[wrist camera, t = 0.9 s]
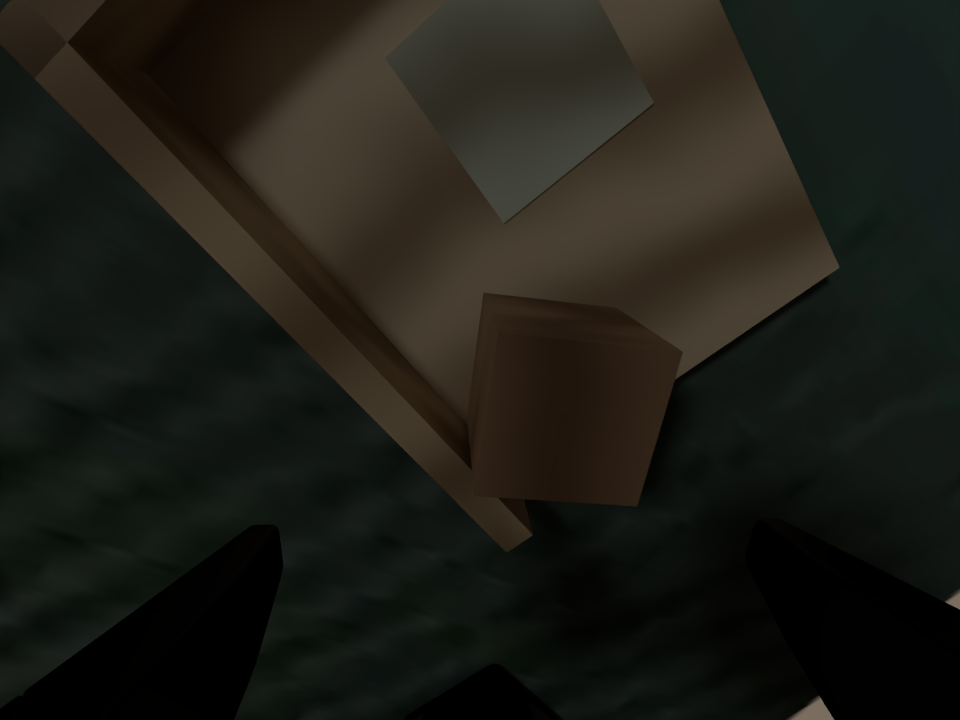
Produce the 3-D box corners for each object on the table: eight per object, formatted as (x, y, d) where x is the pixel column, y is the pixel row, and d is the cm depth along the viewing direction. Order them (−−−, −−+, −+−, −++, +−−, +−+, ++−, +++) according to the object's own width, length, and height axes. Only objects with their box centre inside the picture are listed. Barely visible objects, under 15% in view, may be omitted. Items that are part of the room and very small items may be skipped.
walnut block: (616, 307, 17) (683, 351, 12) (588, 426, 18) (637, 506, 14) (483, 292, 16) (498, 332, 11) (467, 416, 18) (474, 495, 13)
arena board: (818, 263, 18) (919, 281, 14) (495, 486, 20) (506, 552, 16) (524, -365, 11) (563, -640, 8) (109, 73, 14) (-15, 29, 10)
